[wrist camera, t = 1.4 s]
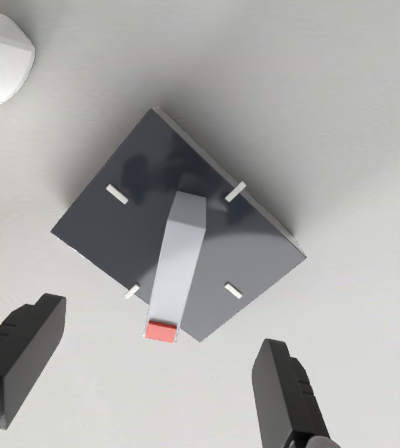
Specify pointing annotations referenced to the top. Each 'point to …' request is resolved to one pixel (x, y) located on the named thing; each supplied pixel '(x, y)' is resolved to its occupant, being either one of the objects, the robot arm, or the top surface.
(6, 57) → the eye dropper bottle
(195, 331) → the dark grey slab base
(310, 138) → the top surface
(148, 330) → the red-tipped grey slab
